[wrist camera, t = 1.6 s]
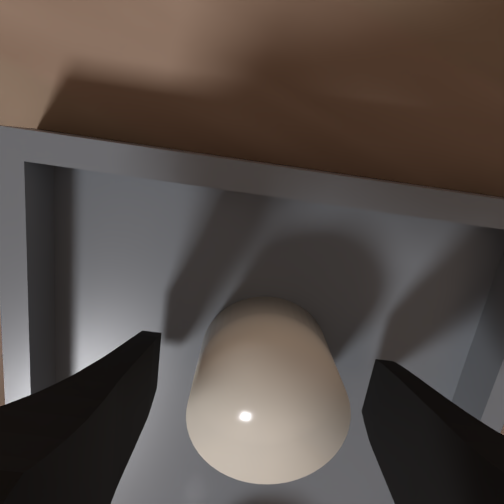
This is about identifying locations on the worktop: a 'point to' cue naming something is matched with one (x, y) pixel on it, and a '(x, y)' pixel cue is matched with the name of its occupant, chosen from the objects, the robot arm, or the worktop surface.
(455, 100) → the worktop surface
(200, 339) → the parts tray
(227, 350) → the pebble
